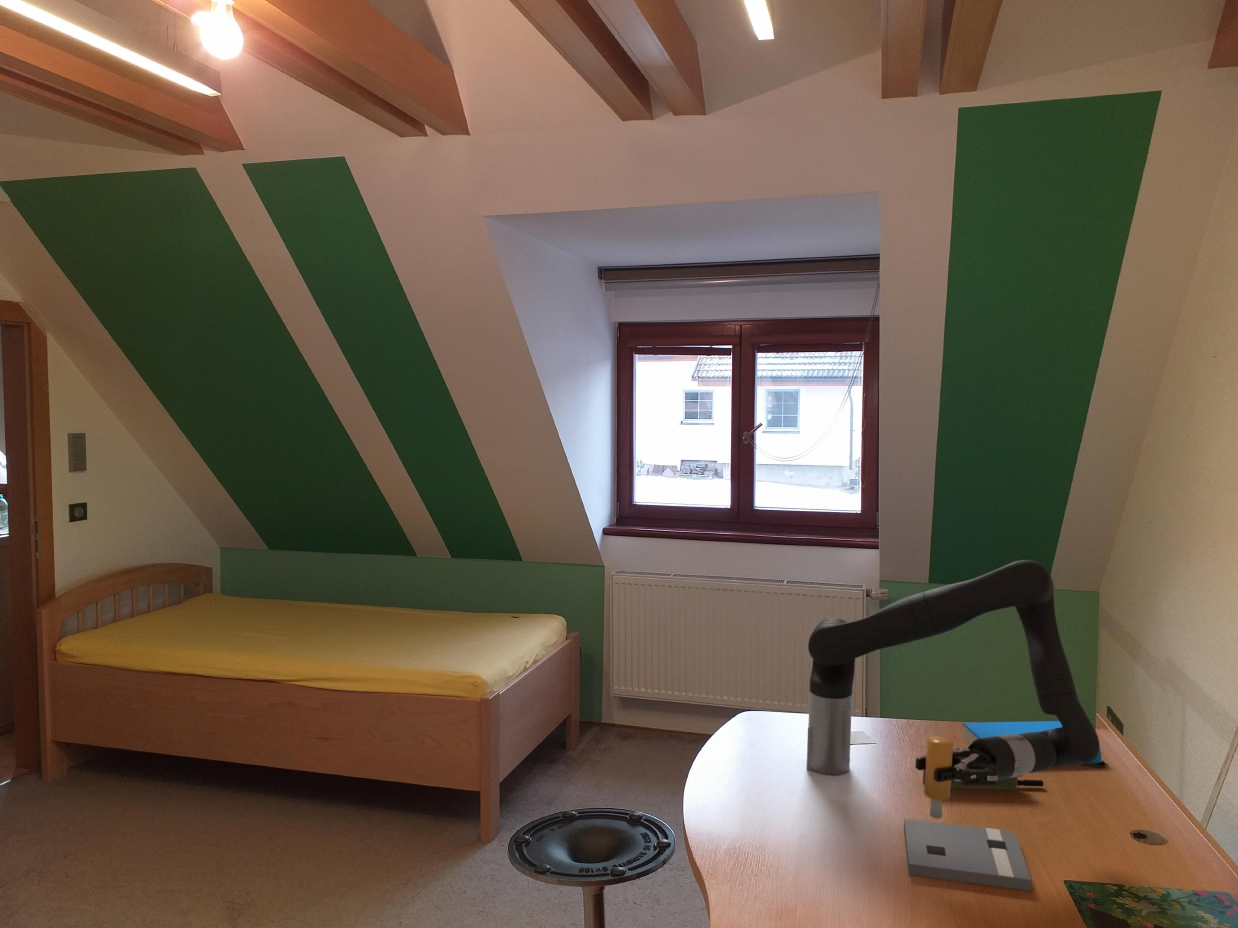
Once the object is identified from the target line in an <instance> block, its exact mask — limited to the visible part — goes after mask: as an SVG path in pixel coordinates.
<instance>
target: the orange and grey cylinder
mask: <svg viewBox="0 0 1238 928" xmlns="http://www.w3.org/2000/svg"><path fill="white" fill-rule="evenodd" d="M953 749H954V741H953V740H952V739H949V738H947V737H945V736H939V735H931V736H929V737H927V738H926V753H925V755H926V769H925V786H923V787H924V789H923V793H924V796H926V797H927V798H930V806H929V807H930V808H929V816H930V817H931V818H933V819H941V818H942V817H943V816H942V815H943V801H946V800H949V799H950V798H951V789H952V788H951V780H948V781H942V782H937V781H935V780H934V770H935V769H937V768H943V767H949V766H952V755H953Z"/></svg>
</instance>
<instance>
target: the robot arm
mask: <svg viewBox="0 0 1238 928" xmlns="http://www.w3.org/2000/svg"><path fill="white" fill-rule="evenodd" d="M1054 590H1055V585H1054V581H1053V579H1052V576H1051V574H1050V573H1049V571H1048V570H1047V568H1046V567H1045V566H1044V565H1042V563H1040V562H1037V561H1034V560H1032V559H1031V560H1030V559H1021V560H1020V559H1019V560H1016V561H1013V562H1010V563H1008V564H1006V565H1004V566H1002V567H999V568H997V569H994V570H993V571H989V572H987V573H985V574H982V575H980V576H977V577H974V578H971V579H968V580H965V581H964V580H963V581H961V582H959V581H958V582H955V583H952V584H951V583H950V584H947V585H944V586H940V587H935V588H932V589H929V590H925V591H922V592H918V593H916V594H912V595H909V596H905V597H903V598H901V599H899V600H897V601H894V602H892V603H891V604H889V605H886V606H885V607H883V608H880V609H879V610H877V611H876V612H874V613H872V614H869V615H868V616H865V617H862V618H859V619H856V620H852V621H851V620H850V621H846V620H844V619H841V618H840V617H828V618H825V619H823V620H822V621H820V622H819V623H818V624H817V625H816V626H815V628H814V629H813V631H812V632H811V634H810V636H809V638H808V639H809V640H808V643H807V645H808V646H807V648H808V649H807V650H808V653H809V655H810V657H811V659H812V665H811V667H812V668H811V674H810V677H809V693H808V694H809V696H808V697H809V701H808V703H809V704H808V725H807V745H806V746H807V747H806V769H807V770H811V771H813V772H816V773H819V774H823V775H832V776H833V775H834V776H835V775H841V774H845V773H848V771H849V770H850V764H851V763H850V761H851V757H850V756H851V735H852V734H851V733H852V708H853V707H852V705H853V686H854V679H855V668H856V667H855V665H856V664H855V663H856V659H858V658H859V657H862V656H864V655H867V654H869V653H873V652H875V651H878V650H883V649H886V648H891V647H896V646H899V645H900V646H901V645H904V644H908V643H913V642H915V641H920V640H924V639H927V638H930V637H931V638H932V637H935V636H938V635H940V634H944V633H947V632H949V631H953V630H955V629H956V628H959V627H961V626H963V625H965V624H967V623H968V622H969V621H972V620H973V619H976V618H977V617H979V616H982V615H984V614H987V613H989V612H994V611H998V610H1003V609H1006V608H1007V609H1008V608H1011V607H1014V608H1015V611H1016V612H1017V614H1018V617H1019V620H1020V622H1021V626H1022V627H1023V628H1022V629H1023V632H1024V635H1025V640H1026V644H1027V645H1026V646H1027V650H1028V656H1029V666H1030V671H1031V675H1032V680H1033V683H1034V688H1035V692H1036V695H1037V699H1038V704H1039V706H1040V710H1041V711H1042V712H1043V714H1046V715H1051V716H1056V718H1057V719H1058V721H1060V723H1061V725H1062V727H1061V728H1055V729H1050V730H1045V731H1040V732H1029V733H1022V734H1016V735H1001V736H994V737H988V738H982V739H977V740H975V741H973V742H972V744H970V745H969V746H968V747H958V748H953V755H952V766H949V767H943V768H937V769H935V770H934V780H935V781H937V782H942V781H948V780H954V781H963V784H965V785H997V780H1001V779H1007V778H1012V777H1018V776H1021V775H1022V776H1024V775H1025V774H1031V773H1037V772H1042V771H1045V770H1048V769H1050V768H1059V767H1060V768H1061V767H1068V766H1074V765H1075V766H1076V765H1084V764H1091V763H1090V762H1093V761H1094V760H1095V759H1096V758H1097V756H1098V754H1099V748H1101V747H1100V746H1101V745H1100V740H1099V736H1098V733H1097V731H1096V729H1095V728H1094V726H1093V724H1092V722H1091V720H1090V718H1089V717H1088V715H1087V712H1086V711H1085V710H1084V708H1083V706H1082V704H1081V703H1080V700H1079V697H1078V694H1077V690H1076V686H1075V682H1074V678H1073V676H1072V672H1071V669H1070V666H1069V662H1068V659H1067V655H1066V653H1065V649H1064V646H1063V644H1062V640H1061V637H1060V633H1059V627H1058V623H1057V617H1056V611H1055V610H1056V609H1055V598H1054V595H1055V594H1054ZM914 767H915V769H917V770H918V771H923V770H925V769H926V756H924V755H923V756H918V757H916V759H915V766H914ZM1022 776H1021V777H1022ZM971 778H976V779H975V780H971ZM1018 778H1019V777H1018Z"/></svg>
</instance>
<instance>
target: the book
mask: <svg viewBox="0 0 1238 928" xmlns="http://www.w3.org/2000/svg"><path fill="white" fill-rule="evenodd" d="M962 726H963V727H962V729H963V730H962V738H963V739H964V740H965V741H967V742H968V744H970V745H971V744H972V742H973V741H975V740H977V739H982V738H988V737H994V736H1001V735H1016V734H1022V733H1029V732H1040V731H1045V730H1050V729H1055V728H1061V727H1062V725H1061V723H1060V721H1059V720H1049V721H1048V720H1045V721H1043V720H1042V721H1040V720H1039V721H995V722H994V721H993V722H991V721H990V722H988V721H986V722H962ZM1101 761H1102V751H1101V747H1100V748H1099V754H1098V756H1097V758H1096V759H1095V760H1094V761H1093V762H1090V763H1089V764H1100V763H1101Z"/></svg>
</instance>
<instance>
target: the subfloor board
mask: <svg viewBox="0 0 1238 928" xmlns="http://www.w3.org/2000/svg"><path fill="white" fill-rule="evenodd" d="M903 835H904V843H905V853H906V863H907V874H908V875H909V876H916V877H925V878H932V879H939V880H946V881H953V882H960V883H961V882H962V883H968V884H976V885H982V886H983V885H984V886H991V887H996V888H997V887H999V888H1004V889H1005V888H1007V889H1013V890H1019V891H1028V892H1031V891H1032V877H1031V875H1030V872H1029V869H1028V866H1027V862H1026V861H1025V857H1024V854H1023V852H1022V848H1021V846H1020V843H1019V839H1018V837H1017V834H1016V832H1015V831H1007V830H1000V829H999V828H991V827H985V828H984V827H976V826H975V827H974V826H966V825H960V824H959V825H958V824H952V823H951V824H950V823H943V822H934V821H926V820H917V819H910V818H903Z"/></svg>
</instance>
